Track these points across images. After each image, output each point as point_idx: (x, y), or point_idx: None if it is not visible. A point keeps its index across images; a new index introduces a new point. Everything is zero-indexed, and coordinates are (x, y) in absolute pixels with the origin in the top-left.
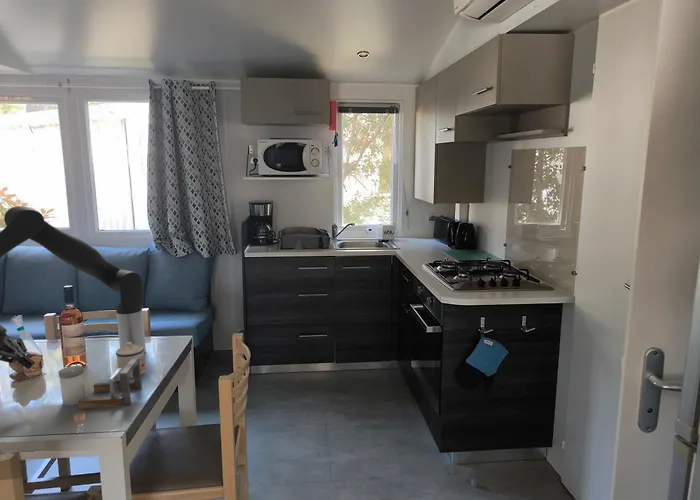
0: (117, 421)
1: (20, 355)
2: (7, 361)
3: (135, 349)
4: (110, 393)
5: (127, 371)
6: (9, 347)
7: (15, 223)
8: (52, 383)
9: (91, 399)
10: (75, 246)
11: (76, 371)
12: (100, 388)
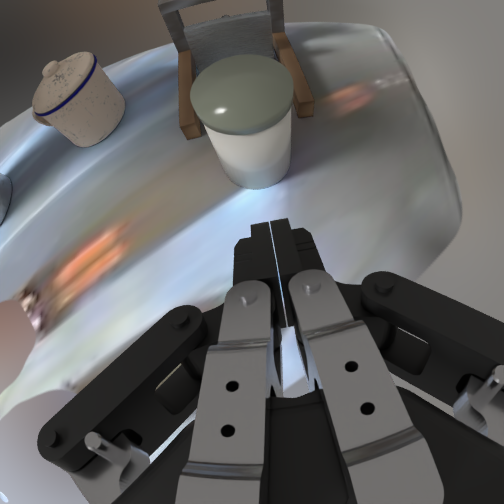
0: (350, 37)
1: (323, 282)
2: (416, 343)
3: (75, 56)
4: (272, 46)
5: None
6: (397, 402)
7: None
8: (121, 322)
9: (296, 78)
10: None
11: (258, 60)
12: (196, 114)
